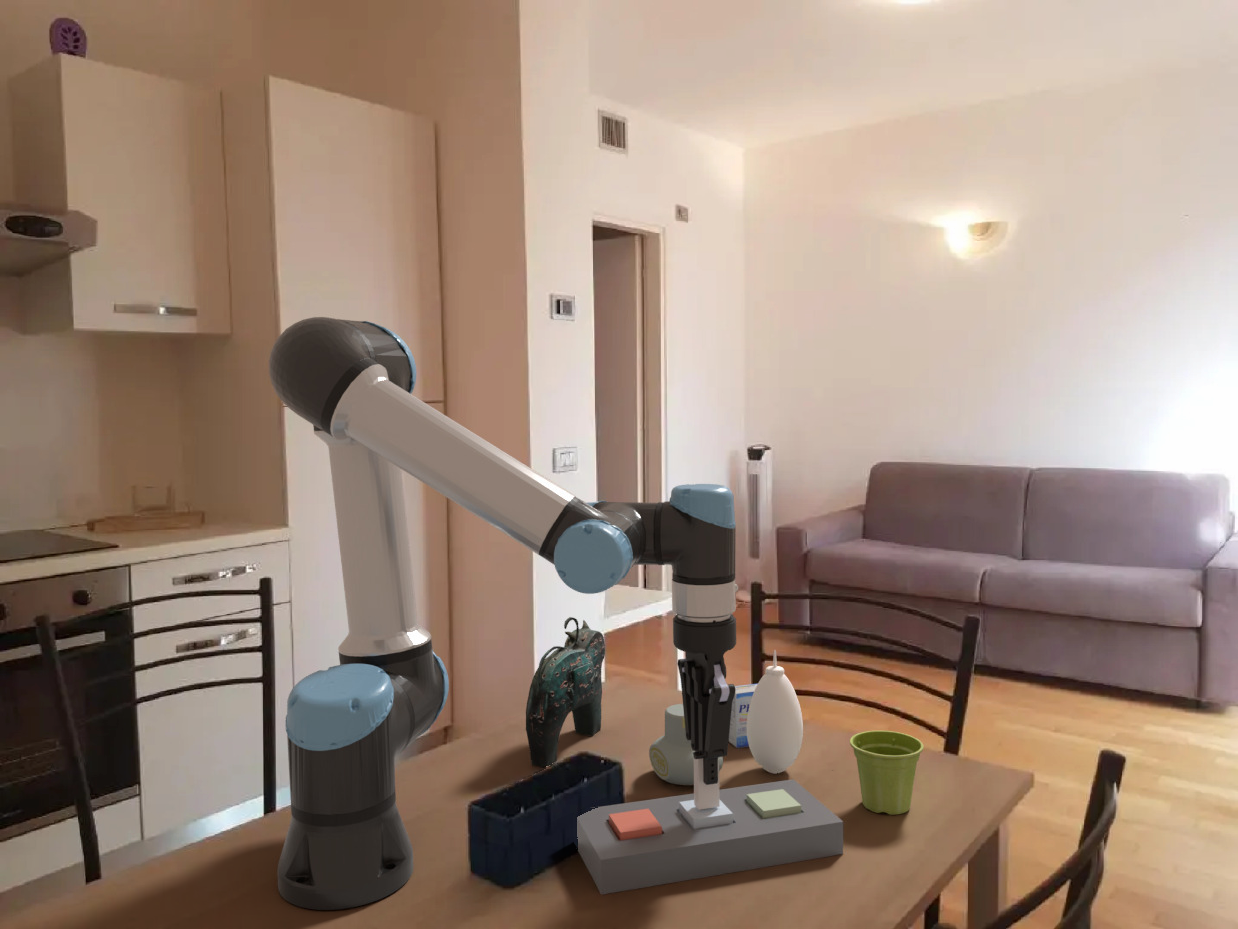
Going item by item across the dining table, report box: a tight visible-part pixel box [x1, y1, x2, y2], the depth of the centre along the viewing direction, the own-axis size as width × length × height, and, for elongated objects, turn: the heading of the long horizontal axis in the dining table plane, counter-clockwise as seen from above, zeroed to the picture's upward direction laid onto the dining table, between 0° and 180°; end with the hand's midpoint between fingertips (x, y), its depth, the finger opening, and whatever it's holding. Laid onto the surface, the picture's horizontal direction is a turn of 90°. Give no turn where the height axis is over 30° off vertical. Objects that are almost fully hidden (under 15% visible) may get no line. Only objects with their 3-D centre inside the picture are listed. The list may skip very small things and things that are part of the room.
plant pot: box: [849, 730, 924, 815], centre depth 129 cm, size 9×9×9 cm
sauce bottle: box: [747, 649, 804, 775], centre depth 140 cm, size 8×8×18 cm
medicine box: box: [728, 683, 758, 749], centre depth 153 cm, size 8×4×9 cm, turn 106°
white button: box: [679, 799, 733, 829], centre depth 118 cm, size 5×5×3 cm
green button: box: [747, 789, 801, 819], centre depth 120 cm, size 5×5×3 cm
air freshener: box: [648, 703, 724, 786], centre depth 139 cm, size 11×8×10 cm
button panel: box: [577, 779, 844, 895], centre depth 118 cm, size 30×13×4 cm, turn 106°
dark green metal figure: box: [525, 616, 606, 768], centre depth 151 cm, size 20×6×20 cm, turn 154°
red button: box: [609, 809, 662, 841], centre depth 115 cm, size 5×5×3 cm
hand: (706, 805), depth 118 cm, fingers closed
